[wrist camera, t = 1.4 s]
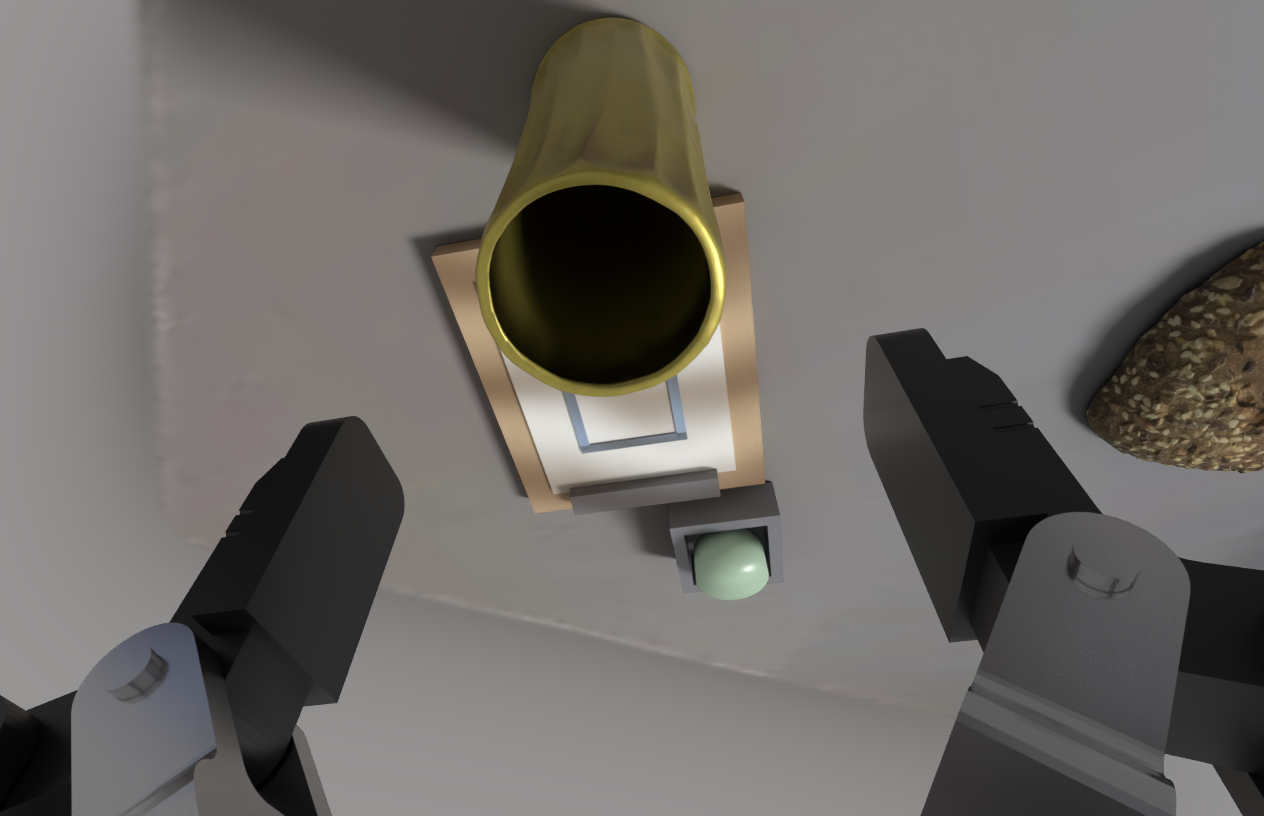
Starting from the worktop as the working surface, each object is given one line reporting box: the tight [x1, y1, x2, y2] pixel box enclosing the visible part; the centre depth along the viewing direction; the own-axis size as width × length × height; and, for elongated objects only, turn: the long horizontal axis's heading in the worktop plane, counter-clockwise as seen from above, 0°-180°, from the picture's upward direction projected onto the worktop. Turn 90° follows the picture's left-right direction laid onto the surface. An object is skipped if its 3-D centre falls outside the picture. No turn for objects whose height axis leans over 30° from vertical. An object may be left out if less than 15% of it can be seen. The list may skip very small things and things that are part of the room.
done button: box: [693, 528, 769, 600], centre depth 37 cm, size 4×4×2 cm
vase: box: [475, 18, 727, 397], centre depth 19 cm, size 6×6×14 cm
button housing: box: [668, 482, 784, 593], centre depth 38 cm, size 6×6×2 cm
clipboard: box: [431, 193, 765, 515], centre depth 31 cm, size 16×13×2 cm
